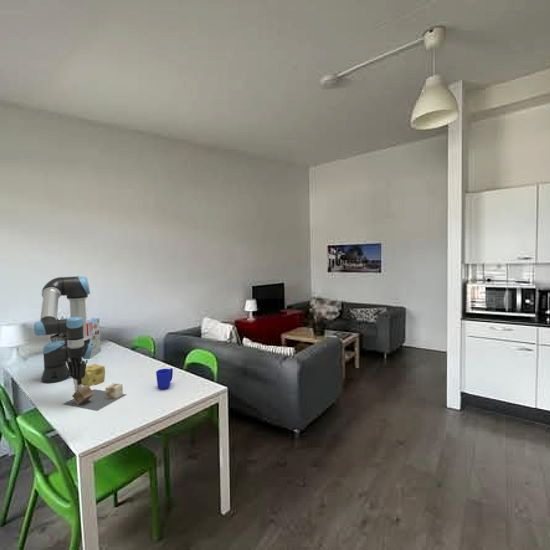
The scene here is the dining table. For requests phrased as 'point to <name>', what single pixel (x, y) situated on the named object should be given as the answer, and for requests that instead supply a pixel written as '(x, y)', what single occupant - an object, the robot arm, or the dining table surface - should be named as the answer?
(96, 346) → the game box
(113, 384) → the maple block
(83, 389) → the walnut block
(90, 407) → the rubber mat
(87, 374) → the cheese
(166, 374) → the mug
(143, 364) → the dining table surface
